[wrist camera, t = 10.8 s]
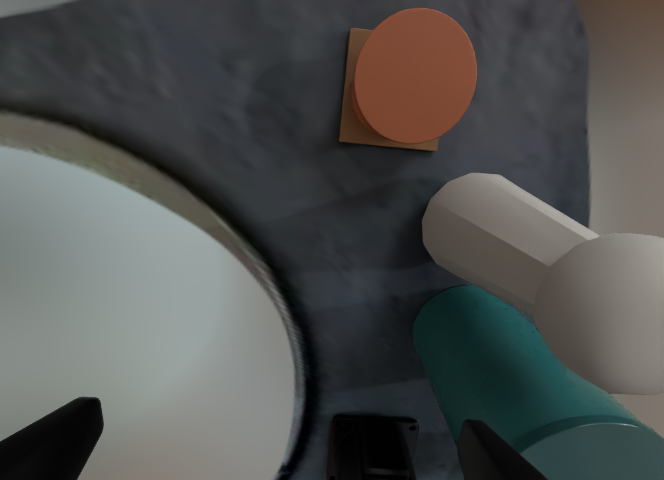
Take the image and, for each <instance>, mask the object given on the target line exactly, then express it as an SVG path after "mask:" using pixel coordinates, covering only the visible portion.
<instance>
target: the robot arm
mask: <svg viewBox="0 0 664 480" xmlns="http://www.w3.org/2000/svg"><path fill="white" fill-rule="evenodd" d="M103 426H104V423H103V416H102V409H101V402H100V400H99V399H98V398H96V397H79V398H77V399H75V400H73V401H71V402H70V403H68V404H66V405H64V406H62V407H61V408H59V409H57V410H55V411H54V412H52V413H50V414H48V415H46V416H45V417H43V418H41V419H39V420H38V421H36V422H34V423H32V424H30V425H29V426H27V427H25V428H23V429H22V430H20V431H18V432H16V433H15V434H13V435H11V436H9V437H8V438H6V439H4V440H2V441H0V480H77V479H78V477H79V475H80V473H81V471H82V469H83V467H84V466H85V464H86V462H87V460H88V458H89V456H90V455H91V453H92V451H93V449H94V447H95V445H96V443H97V441H98V440H99V437H100V436H101V434H102V430H103ZM418 431H419V425H418V422H417V420H415V419H410V418H392V417H375V416H358V415H336V416H334V418H333V422H332V430H331V439H330V447H329V455H328V463H327V472H326V479H327V480H417V479H416V475H415V472H414V468H413V464H412V458H413V453H414V449H415V444H416V440H417V436H418ZM457 451H458V456H459V460H460V464H461V468H462V471H463V475H464V479H465V480H549V479H547V478H546V477H545V476H544V475H543V474H542V473H541V472H540V471H538V470H537V469H536V468H535V467H534V466H533V465H532V464H531V463H529V462H528V461H527V460H526V459H525V458H524V457H523V456H522V455H520V454H519V453H518V452H517V451H516V450H515V449H514V448H513V447H511V446H510V445H509V444H508V443H507V442H506V441H505V440H504V439H502V438H501V437H500V436H499V435H498V434H497V433H496V432H494V431H493V430H492V429H491V428H490V427H489V426H488V425H487V424H485V423H484V422H483V421H481V420H475V419H466V420H464V422H463V424H462V428H461V431H460V435H459V439H458V443H457Z"/></svg>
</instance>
